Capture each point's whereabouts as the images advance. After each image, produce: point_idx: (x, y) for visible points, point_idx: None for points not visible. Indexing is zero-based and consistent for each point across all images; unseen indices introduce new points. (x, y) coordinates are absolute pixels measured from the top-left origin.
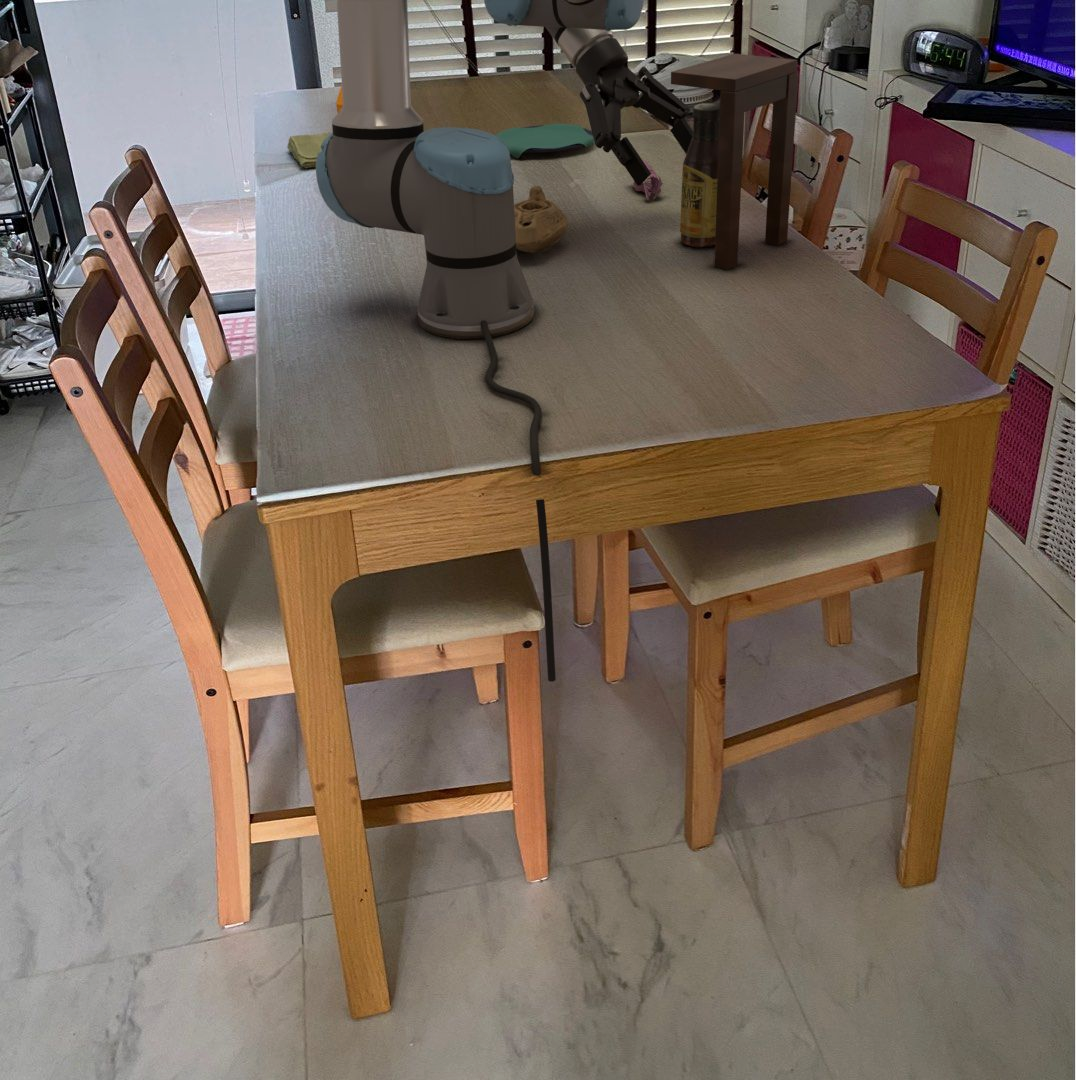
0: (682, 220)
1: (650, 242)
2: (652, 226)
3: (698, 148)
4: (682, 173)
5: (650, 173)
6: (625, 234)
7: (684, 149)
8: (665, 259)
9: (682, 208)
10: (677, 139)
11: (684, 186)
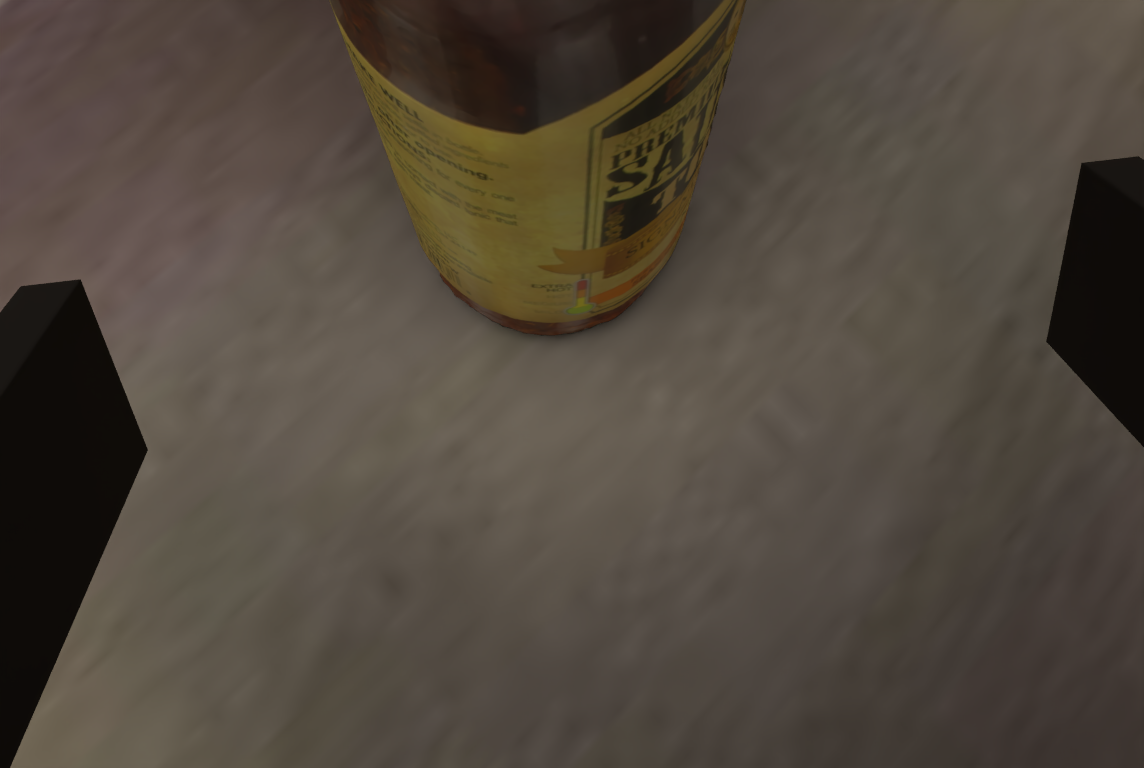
0: (688, 203)
1: (761, 457)
2: (508, 699)
3: None
4: (697, 77)
5: (1091, 165)
6: (763, 712)
7: (77, 577)
8: (914, 167)
9: (694, 174)
10: (20, 710)
11: (729, 59)
